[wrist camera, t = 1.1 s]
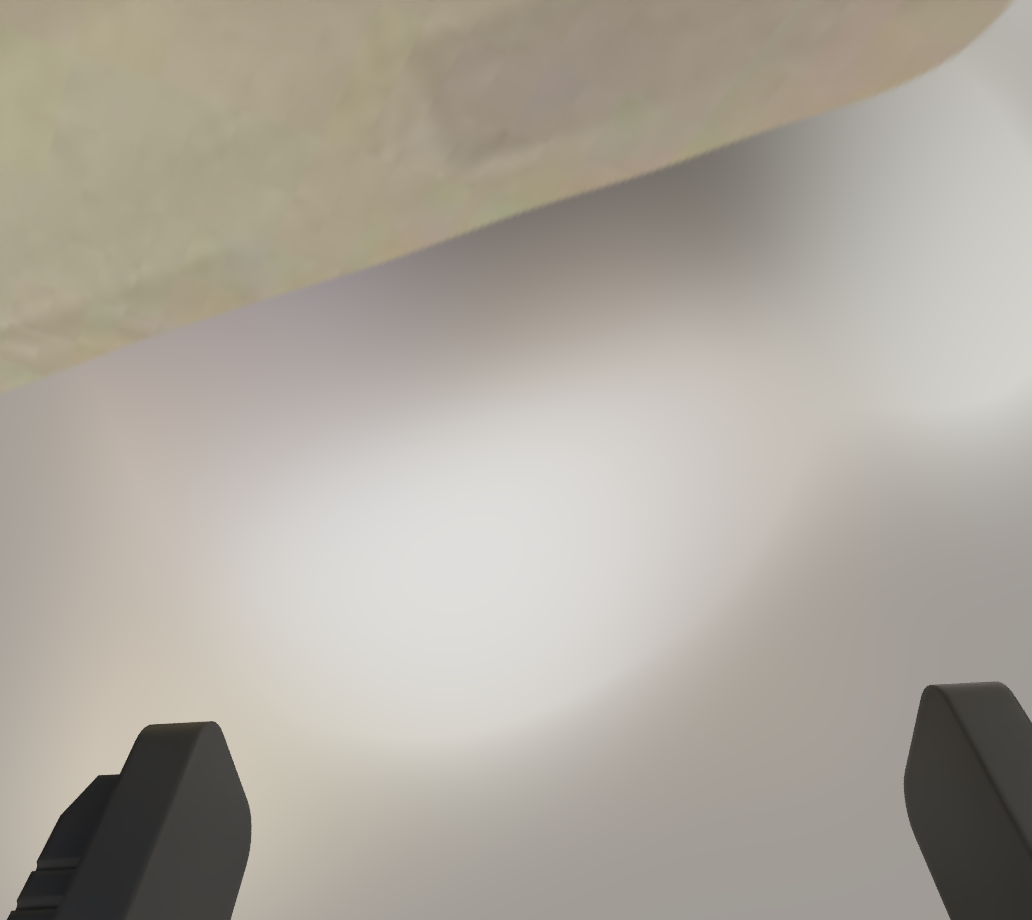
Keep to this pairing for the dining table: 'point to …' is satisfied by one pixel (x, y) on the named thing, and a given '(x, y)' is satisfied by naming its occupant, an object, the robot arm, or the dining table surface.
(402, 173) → the dining table surface
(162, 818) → the robot arm
